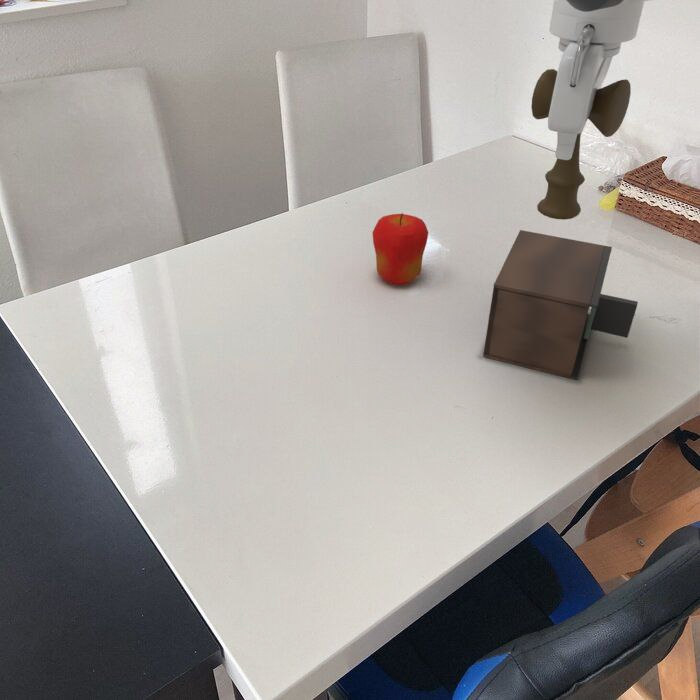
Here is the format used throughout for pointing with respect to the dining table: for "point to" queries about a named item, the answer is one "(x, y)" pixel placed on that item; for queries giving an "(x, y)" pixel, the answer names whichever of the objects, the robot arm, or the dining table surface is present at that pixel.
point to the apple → (399, 247)
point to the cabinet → (545, 303)
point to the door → (611, 316)
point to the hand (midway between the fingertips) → (568, 145)
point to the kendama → (567, 172)
